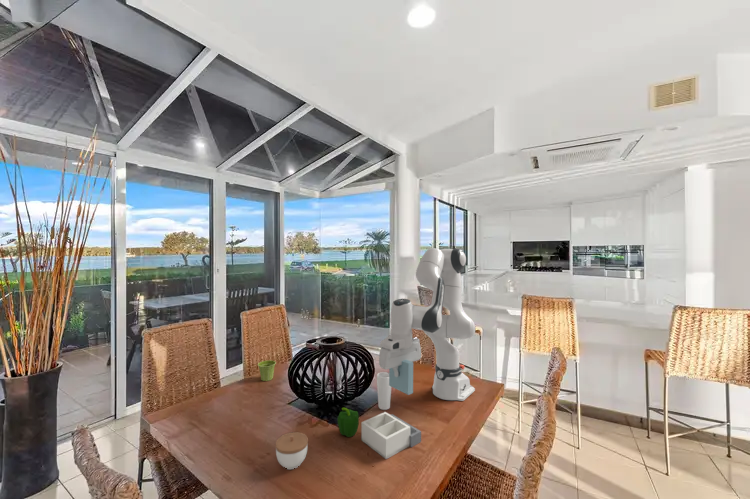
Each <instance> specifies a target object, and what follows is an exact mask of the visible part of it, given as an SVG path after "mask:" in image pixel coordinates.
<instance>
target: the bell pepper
mask: <svg viewBox="0 0 750 499" xmlns="http://www.w3.org/2000/svg"><path fill="white" fill-rule="evenodd" d="M341 410H342V411H340V412H339V414H338V416H337V425H338V429H339V433H340V434H341V435H342V436H345V437H347V438H351V437H353V436H355V435H356V433H357V432H358V428H359V423H360V422H359V421H360V417H359V412H358V411H357V410H352V409H351V408H349V409H348V408H347V407H341Z"/></svg>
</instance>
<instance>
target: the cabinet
mask: <svg viewBox="0 0 750 499" xmlns="http://www.w3.org/2000/svg"><path fill="white" fill-rule="evenodd" d="M361 441H362V442H363V443H364V444H366V445H367V446H368V447H369V448H370V449H372V450H373V451H375V452H376V453H378V455H380V456H381V457H382V458H383V459H385V460H388V459H390V458H391V457H393V456H395V455H396V454H398V453H400V452H401V451H403V450H406V449H407V448H409V447H410V448H413V447H415V446H416V445H418V444H420V443H422V431H421V430H420V429H418V428H417V427H415V426H413V425H412V424H410V423H408V422H407V421H404V420H403V419H401V418H399V417H398V416H397V415H395V414H393V413H392V414H390V413H388V412H386V411H384V412H381V413H379V414H377V415H375V416H373V417H371V418H368V419H365V420H364V421H361Z"/></svg>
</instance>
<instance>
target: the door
mask: <svg viewBox="0 0 750 499" xmlns="http://www.w3.org/2000/svg"><path fill="white" fill-rule="evenodd" d="M397 370H398V371H399V372H400V376H399V377H395V376H394V370H393V368H390V369H388V373H389V386H391V388H393V389H395V390H398V391H399V392H401V393H404V394H405V395H408V396H409V395H412V394H414V361H413V362H411V361H409V360H404V361H402V365H400V366H398V369H397Z"/></svg>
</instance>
